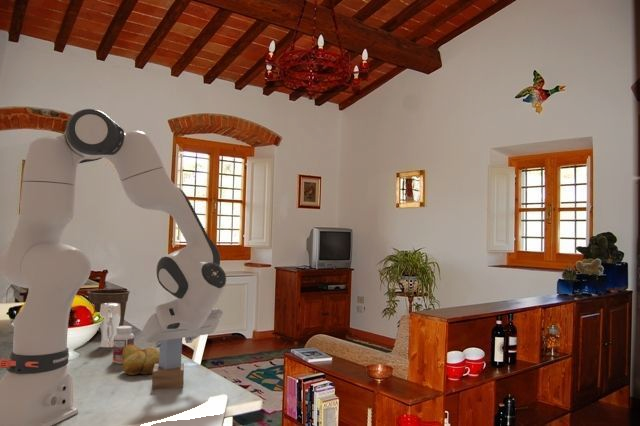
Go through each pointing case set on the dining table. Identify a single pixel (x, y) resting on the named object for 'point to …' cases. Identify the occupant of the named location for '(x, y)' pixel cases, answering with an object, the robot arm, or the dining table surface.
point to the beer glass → (109, 323)
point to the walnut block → (167, 377)
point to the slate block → (170, 353)
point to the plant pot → (110, 300)
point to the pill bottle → (121, 342)
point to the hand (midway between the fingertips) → (172, 343)
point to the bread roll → (139, 360)
